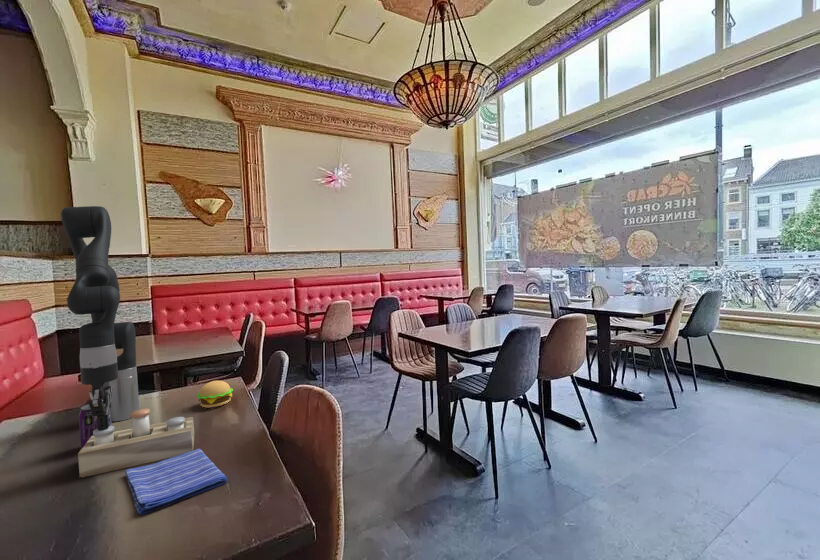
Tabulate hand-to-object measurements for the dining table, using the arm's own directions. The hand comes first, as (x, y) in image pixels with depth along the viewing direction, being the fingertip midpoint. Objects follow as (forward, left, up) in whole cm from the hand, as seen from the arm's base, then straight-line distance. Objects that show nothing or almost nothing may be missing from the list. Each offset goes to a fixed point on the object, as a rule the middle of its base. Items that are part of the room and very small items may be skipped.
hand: (103, 429), depth 101 cm
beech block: (0, +8, -9) cm, 12 cm away
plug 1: (0, 0, -8) cm, 8 cm away
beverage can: (-15, -5, -9) cm, 18 cm away
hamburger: (-36, +26, -9) cm, 45 cm away
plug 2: (0, +16, -9) cm, 18 cm away
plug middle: (0, +8, -5) cm, 9 cm away
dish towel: (+20, +17, -10) cm, 28 cm away
